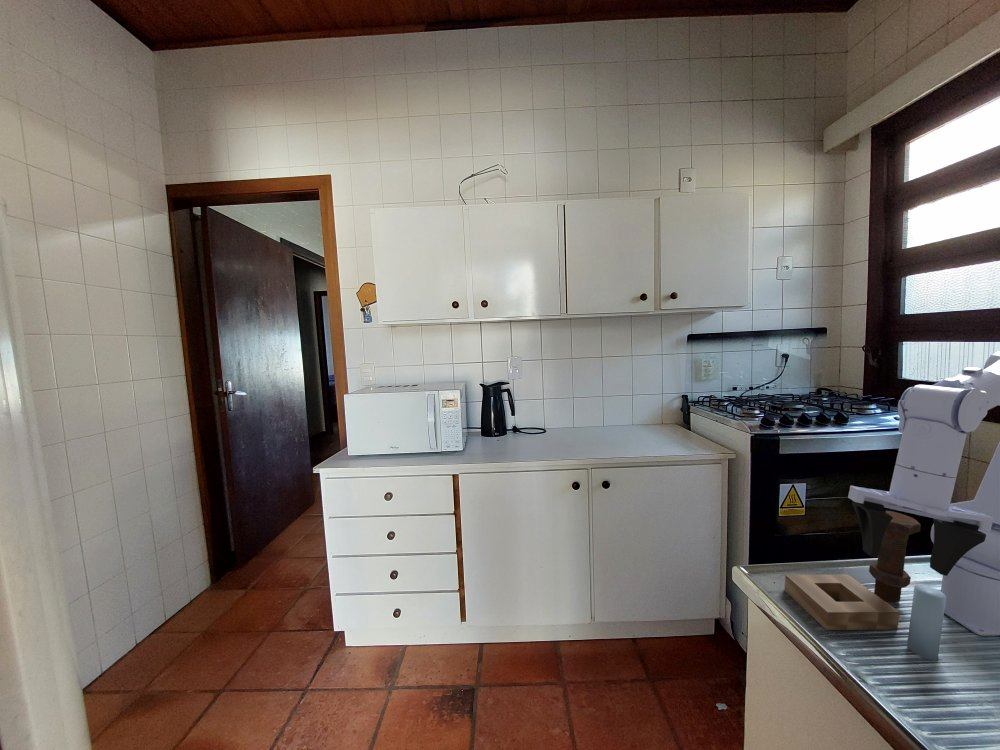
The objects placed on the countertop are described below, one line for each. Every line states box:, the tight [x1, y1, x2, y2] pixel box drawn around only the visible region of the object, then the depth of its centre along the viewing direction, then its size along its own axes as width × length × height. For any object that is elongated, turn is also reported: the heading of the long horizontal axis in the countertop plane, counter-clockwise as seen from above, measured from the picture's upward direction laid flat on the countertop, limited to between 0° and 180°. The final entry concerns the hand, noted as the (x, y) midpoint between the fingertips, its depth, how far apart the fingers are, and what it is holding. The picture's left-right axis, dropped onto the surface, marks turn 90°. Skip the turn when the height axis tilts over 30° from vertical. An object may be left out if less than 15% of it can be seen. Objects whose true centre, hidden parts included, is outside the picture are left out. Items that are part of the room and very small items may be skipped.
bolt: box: [868, 510, 922, 604], centre depth 65 cm, size 6×5×15 cm
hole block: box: [783, 573, 900, 631], centre depth 63 cm, size 11×9×3 cm
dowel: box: [906, 583, 946, 661], centre depth 54 cm, size 3×3×10 cm
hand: (903, 562), depth 53 cm, fingers open, 7 cm apart
